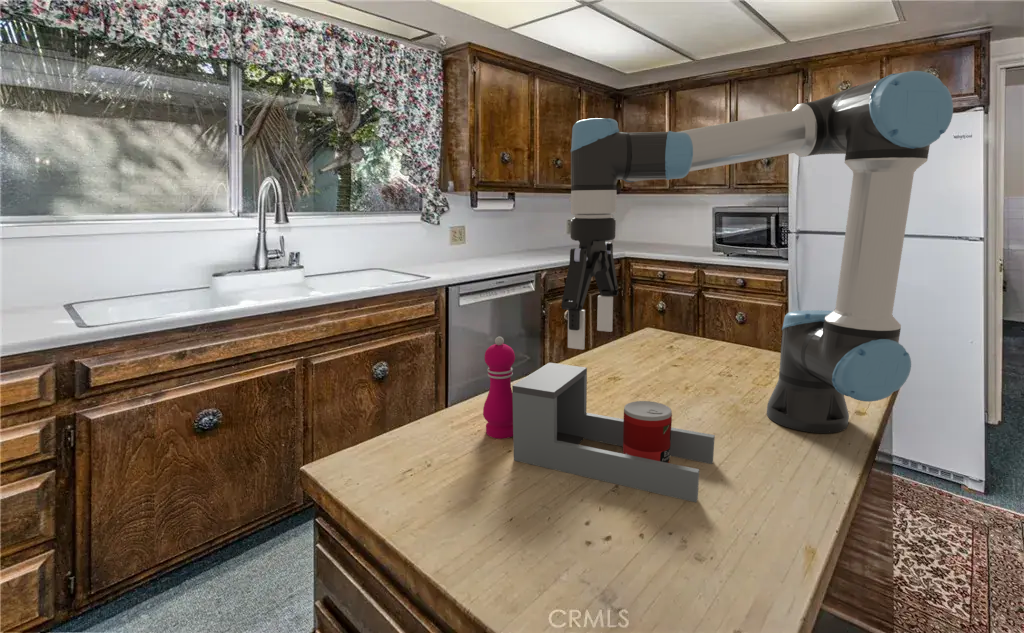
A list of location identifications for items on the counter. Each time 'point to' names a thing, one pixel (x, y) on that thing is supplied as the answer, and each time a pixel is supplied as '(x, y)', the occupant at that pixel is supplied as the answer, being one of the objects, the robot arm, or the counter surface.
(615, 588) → the counter surface
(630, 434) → the canned food
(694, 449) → the trap channel
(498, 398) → the pepper mill
